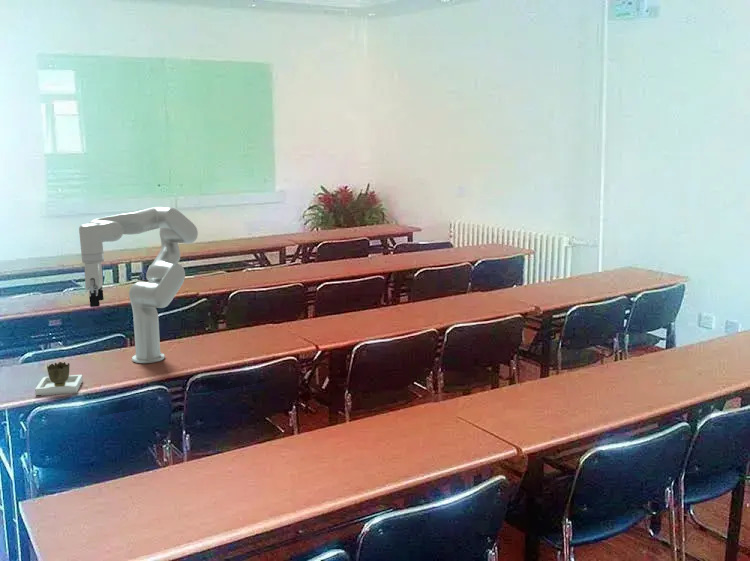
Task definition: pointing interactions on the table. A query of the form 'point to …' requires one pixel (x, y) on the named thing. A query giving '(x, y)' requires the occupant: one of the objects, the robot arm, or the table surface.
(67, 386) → the tray
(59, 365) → the cup
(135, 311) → the robot arm
